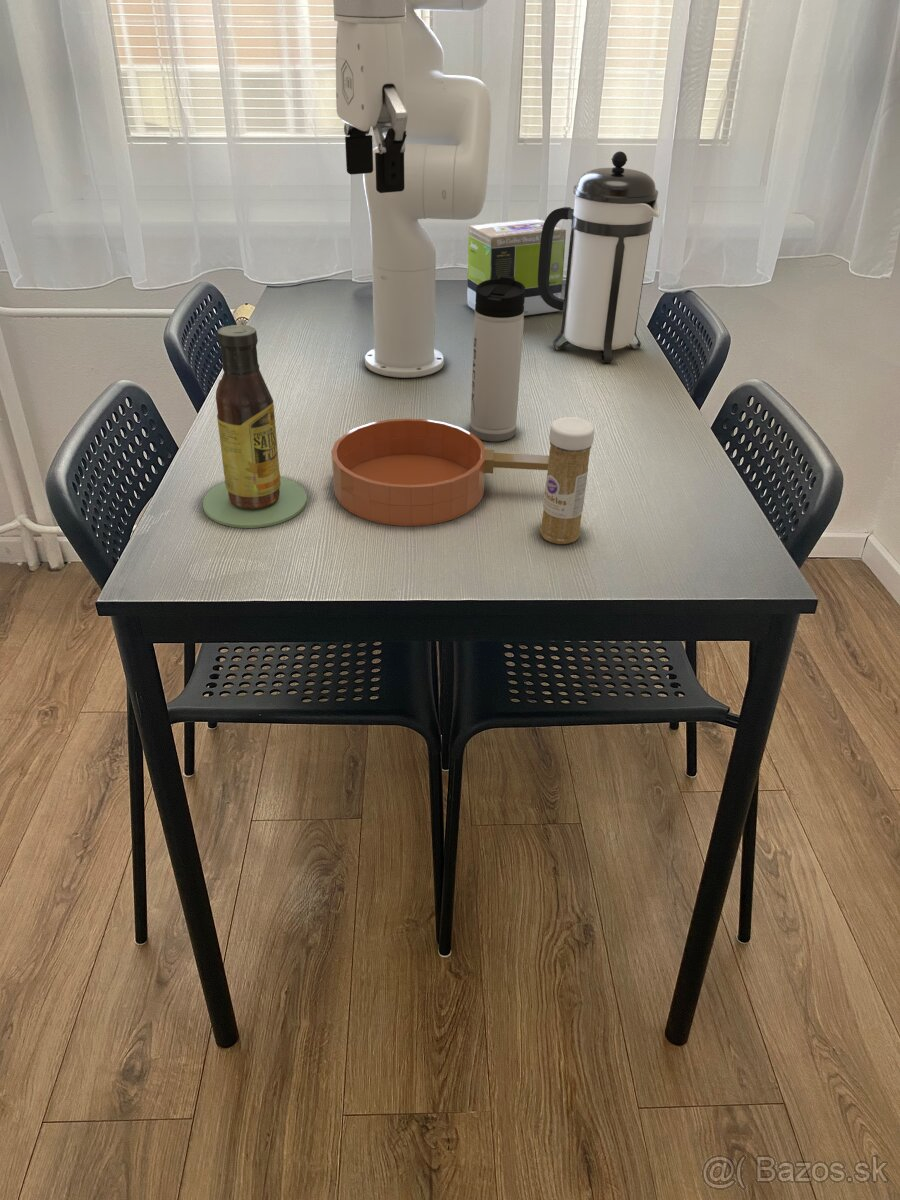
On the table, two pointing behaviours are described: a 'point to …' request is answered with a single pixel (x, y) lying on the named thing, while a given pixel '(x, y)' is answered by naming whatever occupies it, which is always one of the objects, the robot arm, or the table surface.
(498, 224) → the tea box
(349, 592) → the table surface
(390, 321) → the robot arm
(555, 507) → the sprinkles bottle
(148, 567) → the table surface
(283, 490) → the trivet
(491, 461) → the pan handle
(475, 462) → the pan
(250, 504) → the sauce bottle
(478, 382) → the travel mug
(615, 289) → the coffee press
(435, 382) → the table surface
